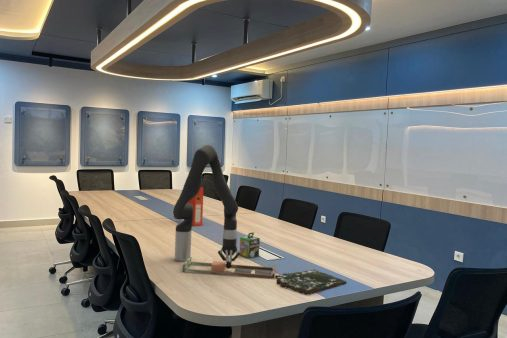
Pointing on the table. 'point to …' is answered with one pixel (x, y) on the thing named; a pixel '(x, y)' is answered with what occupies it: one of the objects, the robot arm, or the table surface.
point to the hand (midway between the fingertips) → (228, 268)
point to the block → (218, 266)
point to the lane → (239, 271)
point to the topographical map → (308, 281)
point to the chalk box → (249, 246)
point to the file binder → (197, 208)
